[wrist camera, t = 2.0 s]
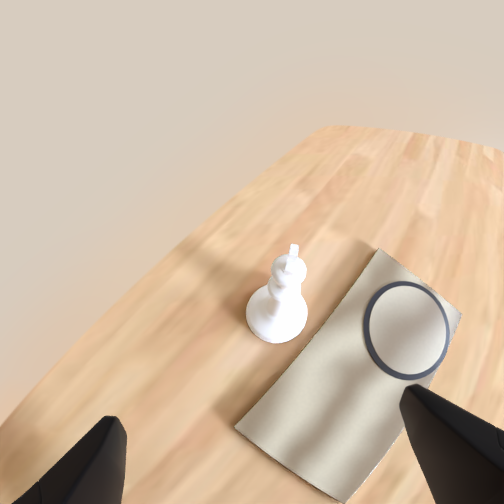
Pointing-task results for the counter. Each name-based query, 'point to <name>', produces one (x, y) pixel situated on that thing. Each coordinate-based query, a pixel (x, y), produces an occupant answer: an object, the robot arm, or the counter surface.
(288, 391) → the grey plate with ring
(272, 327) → the chess piece
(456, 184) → the counter surface
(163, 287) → the counter surface
